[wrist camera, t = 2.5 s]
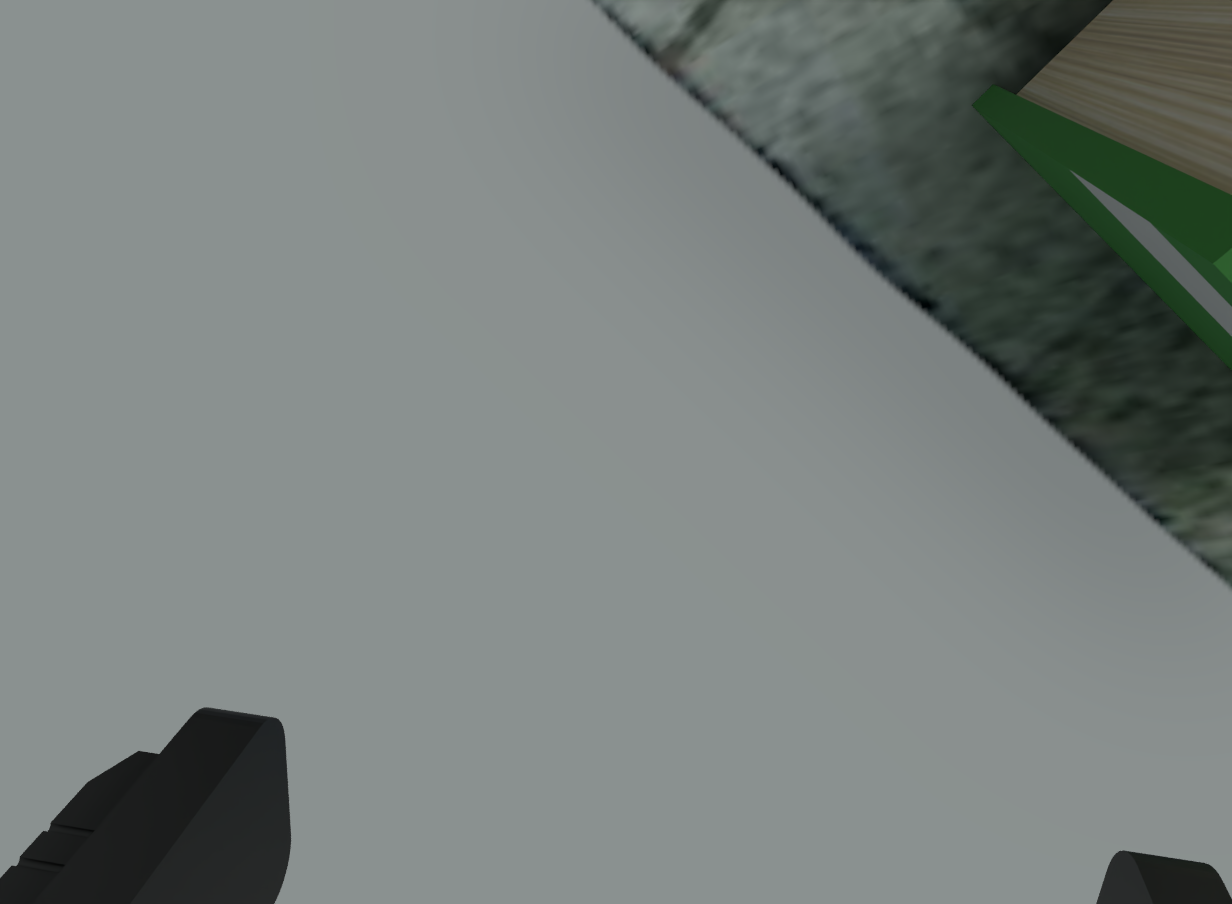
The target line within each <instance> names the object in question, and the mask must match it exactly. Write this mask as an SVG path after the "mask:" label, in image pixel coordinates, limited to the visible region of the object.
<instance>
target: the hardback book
mask: <svg viewBox="0 0 1232 904" xmlns="http://www.w3.org/2000/svg"><path fill="white" fill-rule="evenodd" d="M972 106H973V107H974V108H975V109H976V110H977V111H978V112H979V113H980V114H981V115H982V116H983V117H984V118H985V119H986V120H987V122H988V123H989V124H990V125H991V126H992V127H993V128H994V129H995V130H996V131H997V132H998V133H999V134H1000V135H1001V136H1002V137H1003V138H1004V139H1005V140H1006V141H1007V142H1008V143H1009V144H1010V145H1011V146H1012V147H1013V148H1014V149H1015V150H1016V151H1017V152H1018V153H1019V154H1020V155H1021V156H1022V157H1023V158H1024V159H1025V160H1026V161H1027V162H1028V163H1029V164H1030V165H1031V166H1032V167H1033V168H1034V169H1035V170H1036V171H1037V172H1038V173H1039V175H1040V176H1041V177H1042V178H1043V179H1044V180H1045V181H1046V182H1047V183H1048V184H1049V185H1050V186H1051V187H1052V188H1053V189H1054V190H1055V191H1056V192H1057V193H1058V194H1059V195H1060V196H1061V197H1062V198H1063V199H1064V200H1065V201H1066V202H1067V203H1068V204H1069V205H1070V206H1071V207H1072V208H1073V209H1074V210H1075V211H1076V212H1077V213H1078V214H1079V215H1080V216H1081V217H1082V218H1083V219H1084V220H1085V221H1086V222H1087V223H1088V224H1089V225H1090V227H1091V228H1092V229H1093V230H1094V231H1095V232H1096V233H1097V234H1098V235H1099V236H1100V237H1101V238H1102V239H1103V240H1104V241H1105V242H1106V243H1107V244H1108V245H1109V246H1110V247H1111V248H1112V249H1113V250H1114V251H1115V252H1116V253H1117V254H1118V255H1119V256H1120V257H1121V258H1122V259H1123V260H1124V261H1125V262H1126V263H1127V264H1128V265H1129V266H1130V267H1131V268H1132V269H1133V270H1134V271H1135V272H1136V273H1137V274H1138V275H1139V276H1140V277H1141V279H1142V280H1143V281H1144V282H1145V283H1146V284H1147V285H1148V286H1149V287H1150V288H1151V289H1152V290H1153V291H1154V292H1155V293H1156V294H1157V295H1158V296H1159V297H1160V298H1161V299H1162V300H1163V301H1164V302H1165V303H1166V304H1167V305H1168V306H1169V307H1170V308H1171V309H1172V310H1173V311H1174V312H1175V313H1176V314H1177V315H1178V316H1179V317H1180V318H1181V319H1182V320H1183V321H1184V322H1185V323H1186V324H1187V325H1188V326H1189V327H1190V328H1191V329H1192V331H1193V332H1194V333H1195V334H1196V335H1197V336H1198V337H1199V338H1200V339H1201V340H1202V341H1203V342H1204V343H1205V344H1206V345H1207V346H1208V347H1209V348H1210V349H1211V350H1212V351H1213V352H1214V353H1215V354H1216V355H1217V356H1218V357H1219V358H1220V359H1221V360H1222V361H1223V362H1224V363H1225V364H1226V365H1227V366H1228V367H1229V368H1230V369H1231V370H1232V0H1113V1H1112V2H1111V3H1110V4H1109V5H1108V6H1107V7H1106V8H1104V9H1103V10H1102V11H1101V12H1100V13H1099V14H1098V15H1097V16H1096V17H1095V18H1094V19H1093V20H1092V21H1091V22H1090V23H1089V24H1088V25H1087V26H1086V27H1085V28H1084V29H1083V30H1082V31H1081V32H1080V33H1079V34H1078V35H1077V36H1076V37H1075V38H1074V39H1073V40H1072V41H1071V42H1070V43H1069V44H1068V45H1066V46H1065V47H1064V48H1063V49H1062V50H1061V51H1060V52H1059V53H1058V54H1057V55H1056V56H1055V57H1054V58H1053V59H1052V60H1051V61H1050V62H1049V63H1048V64H1047V65H1046V66H1045V67H1044V68H1043V69H1042V70H1041V71H1040V72H1039V73H1038V74H1037V75H1036V76H1035V77H1034V78H1033V79H1032V80H1031V81H1030V82H1028V83H1027V84H1026V85H1025V86H1024V87H1023V88H1022V89H1021V90H1020V91H1019V92H1018V93H1017V94H1016V95H1015V94H1013V93H1011V92H1009V91H1007V90H1005V89H1002V88H1000V87H998V86H996V85H994V84H993V85H992V86H991V87H990V88H989V89H988V90H987V91H986V92H985V93H984V94H983V95H982V96H981V97H980V98H979V99H978V100H977V101H976V102H975V103H974V104H973V105H972Z"/></svg>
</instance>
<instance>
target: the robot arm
mask: <svg viewBox="0 0 1232 904" xmlns="http://www.w3.org/2000/svg"><path fill="white" fill-rule="evenodd" d="M288 796H289V795H288V779H287V763H286V746H285V734H284V729H283V726H282V723H281V722H280V721H279V719H277V718H273V717H267V716H260V715H253V714H247V713H240V712H234V711H227V710H221V709H214V708H202V709H200V710H198V711H197V712H195V713H194V714H193V715H192V717H191V718H190V719H189V720H188V721H187V722H186V723H185V724H184V726H183V727H182V728H181V729H180V730H179V732H178V733H177V734H176V735H175V736H174V737H173V739H172V740H171V741H170V742H169V743H168V745H167V746H166V747H165V748H164V749H163V750H162V752H161V753H160V754H155V753H148V752H142V751H138V752H136V753H134V754H133V755H131V756H130V757H128V758H126V759H125V760H123V761H121V762H120V763H118V764H117V765H115V766H113V767H112V768H110V769H108V770H107V771H105V772H103V773H102V774H100V775H99V776H97V777H95V778H94V779H92V780H90V781H89V782H88V783H87V784H85V786H84V787H83V788H82V789H81V790H80V791H79V792H78V793H77V795H76V796H75V797H74V798H73V799H72V800H71V801H70V802H69V803H68V804H67V805H66V806H65V808H64V809H63V810H62V811H61V812H60V813H59V814H58V815H57V816H56V818H55V819H54V820H53V821H52V822H51V826H50V829H49V830H48V832H46V831H43V832H42V833H41V834H40V835H39V836H38V837H37V838H36V840H35V841H34V842H33V843H32V844H31V845H30V846H29V847H28V848H27V849H26V850H25V852H24V853H23V854H22V855H21V856H20V861H19V863H18V865H17V866H11V867H10V868H9V869H8V870H7V872H5V874H4V875H3V876H2V877H1V878H0V904H274V903H275V901H276V899H277V896H278V894H279V892H280V889H281V887H282V884H283V881H284V877H285V874H286V870H287V866H288V861H289V855H290V847H291V846H290V845H291V829H290V812H289V797H288ZM1097 904H1232V899H1231V897H1230V895H1229V893H1228V891H1227V889H1226V887H1225V885H1224V883H1223V881H1222V879H1221V877H1220V876H1219V874H1218V873H1217V871H1216V870H1215V869H1214V868H1213V867H1212V866H1210V865H1209V864H1205V863H1201V862H1194V861H1188V860H1181V859H1175V858H1168V857H1162V856H1155V855H1148V854H1142V853H1135V852H1129V851H1119V852H1118V853H1116V854H1115V855H1114V857H1113V858H1112V860H1111V862H1110V864H1109V866H1108V869H1107V872H1106V875H1105V878H1104V881H1103V884H1102V888H1101V891H1100V894H1099V897H1098V900H1097Z"/></svg>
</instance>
